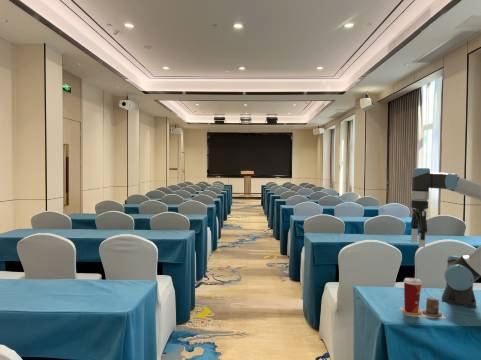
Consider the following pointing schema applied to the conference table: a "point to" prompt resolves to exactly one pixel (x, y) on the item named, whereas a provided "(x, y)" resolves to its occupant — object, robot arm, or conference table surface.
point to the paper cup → (412, 294)
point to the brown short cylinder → (432, 306)
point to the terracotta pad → (412, 313)
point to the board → (422, 314)
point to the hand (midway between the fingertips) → (417, 244)
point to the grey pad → (432, 314)
